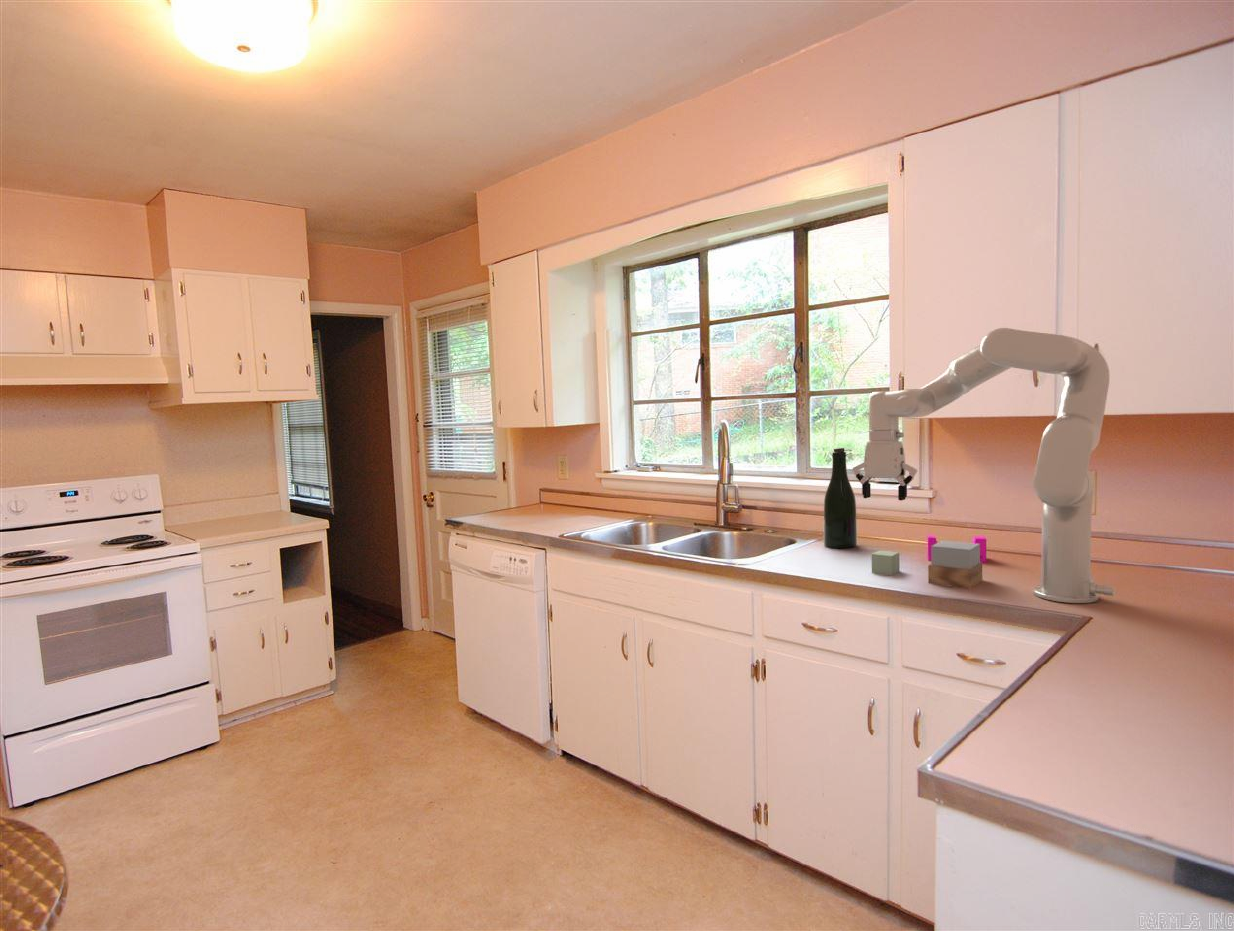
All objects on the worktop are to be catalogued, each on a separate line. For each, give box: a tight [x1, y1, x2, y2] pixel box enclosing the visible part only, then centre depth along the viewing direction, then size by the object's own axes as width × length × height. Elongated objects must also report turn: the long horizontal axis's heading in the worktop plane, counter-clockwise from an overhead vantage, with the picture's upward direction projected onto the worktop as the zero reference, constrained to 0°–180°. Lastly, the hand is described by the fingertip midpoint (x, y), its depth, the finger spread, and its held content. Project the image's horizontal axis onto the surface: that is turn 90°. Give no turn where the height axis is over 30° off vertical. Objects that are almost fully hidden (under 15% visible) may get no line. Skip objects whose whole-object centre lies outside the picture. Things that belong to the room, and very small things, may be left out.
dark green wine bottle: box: [823, 447, 858, 550], centre depth 219 cm, size 10×10×33 cm
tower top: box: [930, 540, 981, 570], centre depth 172 cm, size 9×9×5 cm
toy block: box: [926, 534, 987, 563], centre depth 195 cm, size 15×6×8 cm, turn 69°
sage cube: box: [871, 550, 901, 576], centre depth 185 cm, size 6×6×6 cm
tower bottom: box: [927, 562, 983, 590], centre depth 172 cm, size 10×10×5 cm
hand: (884, 498), depth 183 cm, fingers open, 9 cm apart
